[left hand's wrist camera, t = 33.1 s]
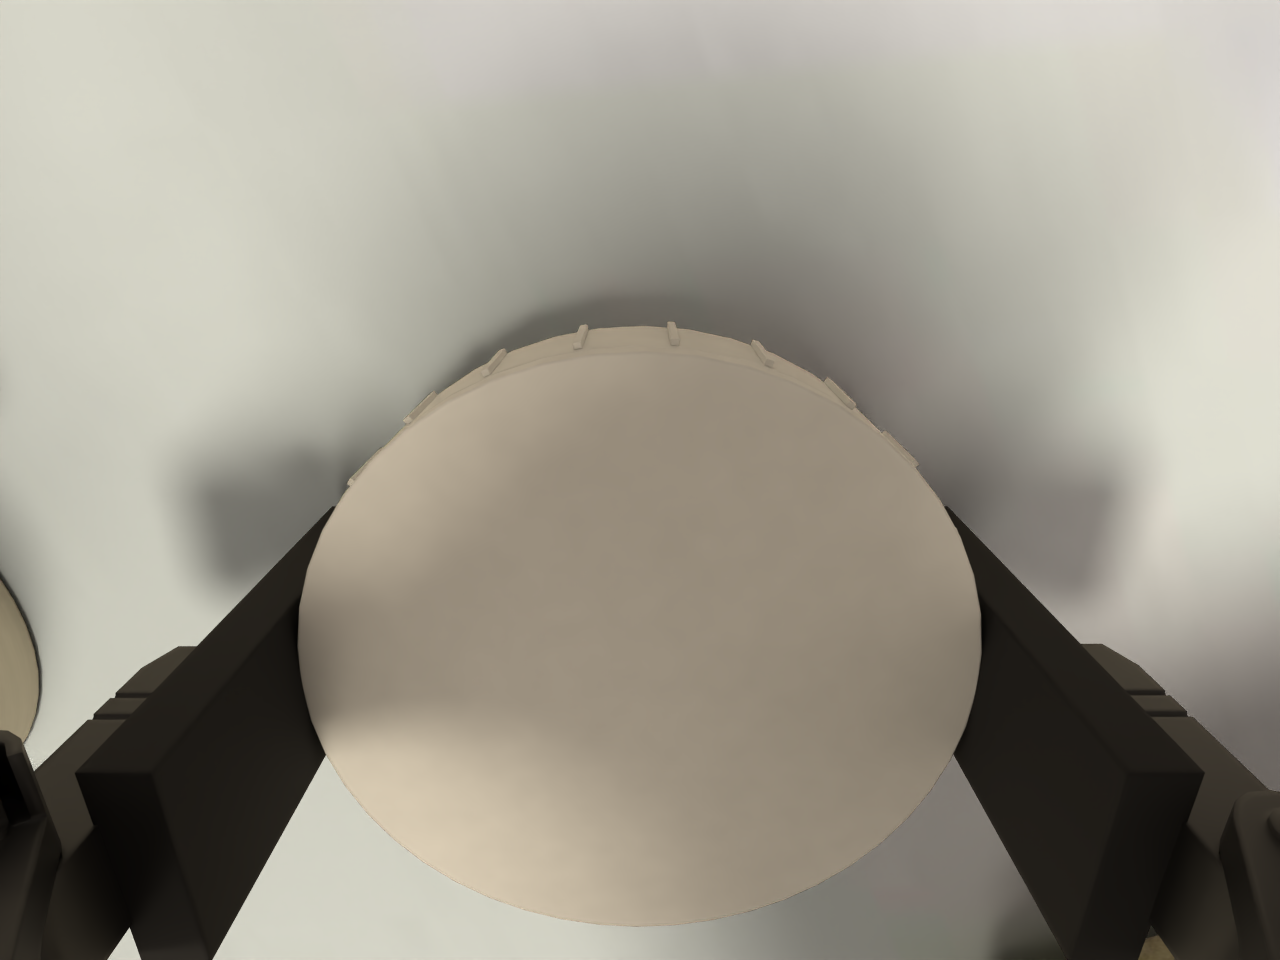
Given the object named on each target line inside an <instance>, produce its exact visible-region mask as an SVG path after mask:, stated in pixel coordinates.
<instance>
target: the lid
mask: <svg viewBox="0 0 1280 960" xmlns="http://www.w3.org/2000/svg"><path fill="white" fill-rule="evenodd" d="M855 406H856V403H855V402H854V401H853V400H852V399H851V398H850V397H849V396H848V395H847V394H846V393H845V392H844V391H843V390H842V389H840V388H839V387H838V386H837V385H836V384H835V383H834V382H833V381H832V380H831V379H830V378H828V377H827V378H826V379H825V381H824V382H823V381H821V380H820V379H819V378H817V377H816V376H814V375H813V374H812V373H810V372H808V371H806V370H804V369H802V368H800V367H799V366H797V365H795V364H793V363H791V362H789V361H787V360H785V359H783V358H781V357H779V356H777V355H776V354H774V353H771V352H768V351H766V350H765V348H764V347H763V346H762V345H761V343H760V342H759V341H756V340H752V342H751V344H750V345H749V344H746V343H743V342H740V341H738V340H735V339H732V338H727V337H723V336H718V335H713V334H708V333H704V332H699V331H694V330H690V329H679V328H676V324H675V322H669V321H668V322H667V328H666V327H653V326H630V327H612V328H597V329H592V330H588V325H587V324H586V325H580V327H579V329H578V332H576V333H571V334H566V335H560V336H555V337H552V338H549V339H546V340H543V341H540V342H537V343H534V344H531V345H528V346H525V347H522V348H519V349H516V350H513V351H511V352H509V353H507V352H506V350H505V348H503V349H501V350H499V351H498V352H497V353H496V354H495V355H494V356H493V358H492V359H491V360H490V361H489V362H488V363H487V364H485V365H483V366H480V367H478V368H476V369H475V370H473V371H472V372H470V373H469V374H467V375H466V376H464V377H463V378H461V379H460V380H458V381H457V382H455V383H454V384H452V385H451V386H449V387H448V388H447V389H445V390H444V391H442V392H441V393H440V394H438V395H437V393H436V392H435V391H433V392H432V393H430V394H429V395H428V396H427V397H426V398H425V399H424V400H423V401H422V402H421V403H420V404H419V405H418V406H417V407H416V408H415V409H414V410H413V411H412V412H411V413H410V414H409V415H408V416H407V417H406V418H405V419H404V420H403V421H404V422H405V423H406V425H405V426H404V427H403V428H402V429H401V430H400V431H399V432H398V433H397V434H396V435H395V436H394V437H393V438H392V439H391V440H390V441H389V442H388V443H387V444H386V445H385V446H384V447H383V448H382V447H381V448H380V449H379V450H378V451H377V452H376V453H375V454H374V455H373V456H372V457H371V458H370V459H369V460H368V461H367V462H366V463H365V464H364V465H363V466H362V467H361V468H360V469H359V470H358V471H357V472H356V473H355V474H354V475H353V476H352V477H351V478H350V479H349V481H348V482H347V484H348V485H349V486H350V487H349V488H348V489H347V490H346V491H345V493H344V494H343V496H342V497H341V499H340V501H339V503H338V504H337V506H336V508H335V509H334V511H333V513H332V515H331V516H330V518H329V520H328V521H327V523H326V525H325V527H324V528H323V530H322V532H321V535H320V538H319V540H318V543H317V545H316V548H315V550H314V553H313V556H312V558H311V561H310V563H309V566H308V569H307V573H306V578H305V583H304V587H303V592H302V597H301V602H300V606H299V624H298V644H297V648H298V657H299V666H300V674H301V680H302V685H303V690H304V694H305V699H306V703H307V707H308V711H309V714H310V718H311V721H312V724H313V726H314V728H315V731H316V733H317V735H318V737H319V740H320V742H321V744H322V747H323V749H324V751H325V754H326V755H327V757H328V759H329V760H330V762H331V764H332V765H333V767H334V769H335V770H336V772H337V774H338V775H339V777H340V778H341V780H342V782H343V783H344V785H345V786H346V788H347V789H348V790H349V791H350V793H351V794H352V795H353V796H354V798H355V799H356V800H357V801H358V803H359V804H360V805H361V806H362V808H363V809H364V810H365V811H366V812H367V814H368V815H369V816H370V817H371V818H372V819H373V820H374V821H375V822H376V823H377V824H379V825H380V826H381V827H382V828H383V829H384V830H385V831H386V832H387V833H388V834H389V835H390V836H391V837H392V838H393V839H394V840H395V841H396V842H398V843H399V844H400V845H402V846H403V847H404V848H406V849H407V850H408V851H410V852H411V853H412V854H413V855H415V856H416V857H417V858H419V859H420V860H421V861H423V862H424V863H426V864H427V865H429V866H431V867H432V868H434V869H436V870H437V871H439V872H440V873H442V874H444V875H445V876H447V877H449V878H450V879H452V880H454V881H455V882H457V883H460V884H462V885H464V886H466V887H468V888H470V889H472V890H474V891H477V892H479V893H481V894H483V895H485V896H487V897H489V898H492V899H495V900H498V901H501V902H504V903H506V904H509V905H512V906H515V907H518V908H521V909H523V910H527V911H531V912H535V913H539V914H543V915H547V916H551V917H555V918H559V919H565V920H571V921H578V922H585V923H592V924H598V925H617V926H635V927H638V926H664V925H679V924H686V923H694V922H701V921H709V920H714V919H719V918H723V917H727V916H732V915H736V914H740V913H745V912H749V911H752V910H755V909H758V908H761V907H764V906H767V905H770V904H773V903H776V902H779V901H782V900H785V899H787V898H789V897H791V896H793V895H796V894H798V893H800V892H802V891H805V890H807V889H809V888H811V887H813V886H816V885H818V884H820V883H821V882H823V881H825V880H827V879H828V878H830V877H832V876H833V875H835V874H837V873H839V872H840V871H842V870H844V869H845V868H847V867H849V866H851V865H852V864H853V863H855V862H856V861H857V860H859V859H860V858H861V857H863V856H864V855H866V854H867V853H868V852H870V851H871V850H872V849H874V848H875V847H876V846H878V845H879V844H880V843H881V842H883V841H884V840H885V839H886V838H887V837H888V836H889V835H890V834H891V833H892V832H893V831H894V830H895V829H896V828H898V827H899V826H900V825H901V824H902V823H903V822H904V821H905V820H906V819H907V818H908V817H909V816H910V815H911V813H912V812H913V811H914V810H915V809H916V807H917V806H918V805H919V804H920V803H921V802H922V800H923V799H924V798H925V797H926V796H927V794H928V793H929V792H930V791H931V789H932V788H933V786H934V785H935V783H936V782H937V780H938V778H939V777H940V775H941V774H942V772H943V771H944V769H945V768H946V766H947V764H948V763H949V761H950V760H951V758H952V755H953V753H954V751H955V749H956V747H957V745H958V742H959V740H960V738H961V736H962V734H963V732H964V730H965V727H966V725H967V721H968V718H969V715H970V711H971V708H972V704H973V700H974V696H975V691H976V686H977V681H978V676H979V670H980V662H981V655H982V642H981V611H980V606H979V600H978V595H977V589H976V584H975V578H974V574H973V571H972V568H971V566H970V563H969V560H968V557H967V554H966V551H965V549H964V546H963V543H962V540H961V537H960V535H959V533H958V531H957V528H956V527H955V526H954V524H953V522H952V521H951V519H950V517H949V515H948V513H947V511H946V510H945V508H944V506H943V504H942V502H941V500H940V499H939V498H938V496H937V495H936V494H935V493H934V491H933V490H932V489H931V487H930V486H929V485H928V483H927V482H926V481H925V479H924V478H923V477H922V476H921V474H920V473H919V472H918V470H917V469H916V467H917V466H918V465H919V463H918V462H917V461H916V460H915V459H914V458H913V457H912V456H911V455H910V454H909V453H908V452H907V451H906V450H905V449H904V448H903V447H902V446H901V445H900V444H899V443H898V442H897V441H896V440H895V439H894V438H893V437H892V436H891V435H890V434H889V433H888V432H887V431H886V430H885V431H884V432H882V433H881V432H880V431H879V430H878V429H877V428H876V427H875V426H874V425H873V424H872V423H871V422H870V421H869V420H868V419H867V418H866V417H865V416H864V415H863V414H862V413H861V412H860V411H859V410H858V409H856V408H855Z"/></svg>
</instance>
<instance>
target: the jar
mask: <svg viewBox="0 0 1280 960" xmlns="http://www.w3.org/2000/svg"><path fill="white" fill-rule="evenodd" d="M38 696H39V672H38V666H37V661H36V655H35V650H34V646H33V643H32V640H31V637H30V634H29V631H28V628H27V625H26V623H25V621H24V619H23V617H22V615H21V613H20V611H19V609H18V607H17V605H16V603H15V601H14V599H13V597H12V596H11V594H10V593H9V591H8V590H7V588H6V586H5V585H4V583H3V582H2V580H1V579H0V730H8V731H10V732H11V733H13V734H15V735H16V736H18V737H20V738H21V739H22V742H24V741H25V739H26V737H27V736H28V734H29V731H30V728H31V726H32V723H33V720H34V717H35V715H36V709H37V702H38Z"/></svg>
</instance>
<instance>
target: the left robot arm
mask: <svg viewBox="0 0 1280 960" xmlns="http://www.w3.org/2000/svg"><path fill="white" fill-rule="evenodd" d="M335 508H336V507H331V508H330V509H329V510H328V512H327V513H326V514H325V515H324V516H323V517H322V518H321V519H320V520H319V521H318V522H317V523H316V524H315V525H314V526H313V527H312V528H311V529H310V530H309V531H308V532H307V533H306V534H305V535H304V536H303V537H302V538H301V539H300V540H299V541H298V542H297V544H296V545H295V546H294V547H293V548H292V549H291V550H290V551H289V552H288V553H287V554H286V555H285V556H284V557H283V558H282V559H281V560H280V561H279V562H278V563H277V564H276V565H275V566H274V567H273V568H272V569H271V570H270V571H269V572H268V573H267V575H266V576H265V577H264V578H263V579H262V580H261V581H260V582H259V583H258V584H257V585H256V586H255V587H254V588H253V589H252V590H251V591H250V592H249V593H248V594H247V595H246V596H245V597H244V598H243V599H242V600H241V601H240V602H239V603H238V604H237V605H236V607H235V608H234V609H233V610H232V611H231V612H230V613H229V614H228V615H227V616H226V617H225V618H224V619H223V620H222V621H221V622H220V623H219V624H218V625H217V626H216V627H215V628H214V629H213V630H212V631H211V632H210V633H209V634H208V635H207V636H206V637H205V639H204V640H203V641H202V642H201V643H200V644H199V645H198V646H178V647H177V648H175V649H173V650H171V651H170V652H168V653H166V654H165V655H163V656H161V657H160V658H158V659H156V660H154V661H153V662H151V663H149V664H148V665H146V666H144V667H143V668H141V669H140V670H139V671H138V672H137V673H136V674H135V675H134V676H133V677H132V678H131V679H130V680H129V681H128V682H127V683H126V684H125V685H124V686H122V687H121V688H120V689H119V690H118V691H117V692H116V696H115V698H110V699H109V700H108V701H107V702H106V703H105V704H104V705H103V706H102V707H101V708H100V709H99V710H98V711H96V712H95V713H94V717H93V719H92V720H87V721H86V722H85V723H84V724H83V725H82V726H81V727H80V728H79V729H78V730H77V731H76V732H75V733H74V734H73V735H72V736H70V737H69V738H68V739H67V740H66V741H65V742H64V743H63V744H62V745H61V746H60V747H59V748H58V749H57V750H56V751H55V752H54V753H53V754H52V755H51V756H50V757H49V758H48V759H47V760H46V761H44V762H43V763H42V764H41V765H40V766H39V767H38V768H37V769H36V770H35V771H33V768H32V765H31V763H30V760H29V758H28V755H27V752H26V750H25V747H24V745H23V742H22V739H21V738H20V737H18V736H16V735H15V734H13V733H11V732H10V731H8V730H0V960H107V959H108V958H109V956H110V955H111V953H112V952H113V950H114V949H115V948H116V946H117V945H118V943H119V942H120V940H121V939H122V937H123V936H124V934H125V933H126V932H127V930H128V929H129V927H130V929H131V932H132V935H133V938H134V940H135V943H136V946H137V949H138V952H139V954H140V957H141V960H212V959H213V957H214V956H215V954H216V952H217V950H218V948H219V947H220V945H221V943H222V941H223V939H224V938H225V936H226V934H227V932H228V930H229V929H230V927H231V925H232V923H233V921H234V920H235V918H236V916H237V914H238V912H239V911H240V909H241V907H242V905H243V903H244V902H245V900H246V898H247V896H248V894H249V893H250V891H251V889H252V887H253V885H254V884H255V882H256V880H257V878H258V876H259V875H260V873H261V871H262V869H263V867H264V866H265V864H266V862H267V860H268V858H269V857H270V855H271V853H272V851H273V849H274V848H275V846H276V844H277V842H278V840H279V839H280V837H281V835H282V833H283V831H284V830H285V828H286V826H287V824H288V822H289V821H290V819H291V817H292V815H293V813H294V812H295V810H296V808H297V806H298V804H299V803H300V801H301V799H302V797H303V795H304V793H305V792H306V790H307V788H308V786H309V784H310V783H311V781H312V779H313V777H314V775H315V774H316V772H317V770H318V768H319V766H320V765H321V763H322V761H323V759H324V757H325V756H326V754H325V751H324V749H323V747H322V744H321V742H320V740H319V737H318V735H317V733H316V731H315V728H314V726H313V724H312V721H311V718H310V714H309V711H308V707H307V703H306V699H305V694H304V690H303V685H302V680H301V674H300V666H299V657H298V648H297V644H298V624H299V606H300V602H301V597H302V592H303V587H304V583H305V578H306V573H307V569H308V566H309V563H310V561H311V558H312V556H313V553H314V550H315V548H316V545H317V543H318V540H319V538H320V535H321V532H322V530H323V528H324V527H325V525H326V523H327V521H328V520H329V518H330V516H331V515H332V513H333V511H334V509H335ZM944 508H945V510H946V511H947V513H948V515H949V517H950V519H951V521H952V522H953V524H954V526H955V527H956V528H957V531H958V533H959V535H960V537H961V540H962V543H963V546H964V549H965V551H966V554H967V557H968V560H969V563H970V566H971V568H972V571H973V574H974V578H975V584H976V589H977V595H978V600H979V606H980V611H981V642H982V655H981V662H980V670H979V676H978V681H977V686H976V691H975V696H974V700H973V704H972V708H971V711H970V715H969V718H968V721H967V725H966V727H965V730H964V732H963V734H962V736H961V738H960V740H959V742H958V745H957V747H956V749H955V751H954V753H953V754H954V756H955V758H956V760H957V761H958V763H959V765H960V767H961V769H962V770H963V772H964V774H965V776H966V778H967V780H968V781H969V783H970V785H971V787H972V789H973V790H974V792H975V794H976V796H977V798H978V799H979V801H980V803H981V805H982V807H983V808H984V810H985V812H986V814H987V816H988V817H989V819H990V821H991V823H992V825H993V826H994V828H995V830H996V832H997V834H998V835H999V837H1000V839H1001V841H1002V843H1003V844H1004V846H1005V848H1006V850H1007V852H1008V853H1009V855H1010V857H1011V859H1012V861H1013V862H1014V864H1015V866H1016V868H1017V870H1018V871H1019V873H1020V875H1021V877H1022V879H1023V880H1024V882H1025V884H1026V886H1027V888H1028V890H1029V891H1030V893H1031V895H1032V897H1033V899H1034V900H1035V902H1036V904H1037V906H1038V908H1039V909H1040V911H1041V913H1042V915H1043V917H1044V918H1045V920H1046V922H1047V924H1048V926H1049V927H1050V929H1051V931H1052V933H1053V935H1054V936H1055V938H1056V940H1057V942H1058V944H1059V945H1060V947H1061V949H1062V951H1063V953H1064V954H1065V956H1066V958H1067V960H1138V959H1139V956H1140V953H1141V950H1142V948H1143V945H1144V942H1145V939H1146V936H1147V934H1148V931H1149V928H1150V925H1152V927H1153V928H1154V929H1155V931H1156V932H1157V934H1158V935H1159V937H1160V938H1161V940H1162V941H1163V942H1164V944H1165V945H1166V947H1167V948H1168V950H1169V951H1170V952H1171V954H1172V955H1173V957H1174V960H1280V792H1277V791H1272V790H1269V789H1267V788H1266V787H1265V786H1264V785H1263V784H1262V783H1261V782H1260V781H1259V780H1258V779H1257V778H1256V777H1255V776H1254V775H1253V774H1252V773H1251V772H1250V771H1249V770H1248V769H1247V768H1246V767H1244V766H1243V765H1242V764H1241V763H1240V762H1239V761H1238V760H1237V759H1236V758H1235V757H1234V756H1233V755H1232V754H1231V753H1230V752H1229V751H1228V750H1227V749H1226V748H1225V747H1224V746H1222V745H1221V744H1220V743H1219V742H1218V741H1217V740H1216V739H1215V738H1214V737H1213V736H1212V735H1211V734H1210V733H1209V732H1208V731H1207V730H1206V729H1205V728H1204V727H1203V726H1202V725H1201V724H1199V723H1198V722H1197V721H1196V720H1195V719H1194V718H1193V717H1188V716H1187V711H1186V710H1185V709H1184V708H1183V707H1182V706H1181V705H1180V704H1179V703H1177V702H1176V701H1175V700H1174V699H1173V698H1172V697H1171V696H1166V695H1165V690H1164V689H1163V688H1162V687H1161V686H1160V685H1159V684H1158V683H1157V682H1156V681H1154V680H1153V679H1152V678H1151V677H1150V676H1149V675H1148V674H1147V673H1146V672H1145V671H1144V670H1143V669H1142V668H1141V667H1140V666H1139V665H1137V664H1135V663H1134V662H1132V661H1130V660H1129V659H1127V658H1125V657H1123V656H1122V655H1120V654H1118V653H1117V652H1115V651H1113V650H1111V649H1110V648H1108V647H1106V646H1105V645H1103V644H1080V643H1079V642H1078V641H1077V640H1076V639H1075V638H1074V637H1073V636H1072V635H1071V634H1070V633H1069V632H1068V631H1067V630H1066V628H1065V627H1064V626H1063V625H1062V624H1061V623H1060V622H1059V621H1058V620H1057V619H1056V618H1055V617H1054V616H1053V615H1052V614H1051V613H1050V612H1049V611H1048V610H1047V609H1046V608H1045V607H1044V606H1043V605H1042V604H1041V603H1040V602H1039V601H1038V600H1037V599H1036V597H1035V596H1034V595H1033V594H1032V593H1031V592H1030V591H1029V590H1028V589H1027V588H1026V587H1025V586H1024V585H1023V584H1022V583H1021V582H1020V581H1019V580H1018V579H1017V578H1016V577H1015V576H1014V575H1013V574H1012V573H1011V572H1010V571H1009V570H1008V569H1007V568H1006V566H1005V565H1004V564H1003V563H1002V562H1001V561H1000V560H999V559H998V558H997V557H996V556H995V555H994V554H993V553H992V552H991V551H990V550H989V549H988V548H987V547H986V546H985V545H984V544H983V543H982V542H981V541H980V540H979V539H978V538H977V537H976V536H975V534H974V533H973V532H972V531H971V530H970V529H969V528H968V527H967V526H966V525H965V524H964V523H963V522H962V521H961V520H960V519H959V518H958V517H957V516H956V515H955V514H954V513H953V512H952V511H951V510H950V509H949V508H948V507H947V506H944Z"/></svg>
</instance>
